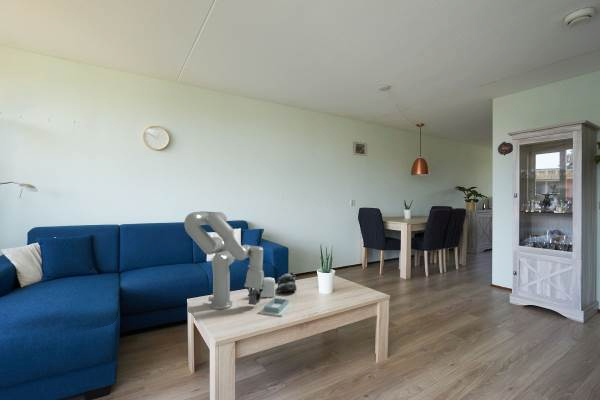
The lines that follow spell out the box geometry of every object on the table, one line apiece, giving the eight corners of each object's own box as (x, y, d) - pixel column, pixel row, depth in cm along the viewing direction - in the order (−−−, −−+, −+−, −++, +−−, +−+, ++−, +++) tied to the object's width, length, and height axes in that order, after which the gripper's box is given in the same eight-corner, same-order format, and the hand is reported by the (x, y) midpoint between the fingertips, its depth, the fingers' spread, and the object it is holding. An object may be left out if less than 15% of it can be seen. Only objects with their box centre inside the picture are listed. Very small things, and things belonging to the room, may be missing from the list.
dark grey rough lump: (272, 293, 192) (272, 272, 199) (282, 295, 202) (281, 275, 208) (291, 290, 186) (290, 268, 193) (300, 292, 196) (299, 272, 202)
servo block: (247, 305, 164) (247, 291, 164) (255, 299, 173) (255, 286, 173) (253, 306, 163) (254, 292, 163) (261, 300, 172) (261, 287, 172)
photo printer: (274, 295, 189) (275, 276, 189) (275, 297, 185) (275, 278, 185) (259, 295, 188) (259, 276, 188) (259, 298, 184) (259, 278, 184)
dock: (258, 313, 160) (258, 307, 160) (272, 302, 177) (272, 296, 177) (282, 316, 155) (282, 310, 155) (293, 305, 172) (293, 299, 172)
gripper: (240, 267, 167) (238, 298, 167) (266, 271, 161) (264, 303, 162) (246, 264, 174) (245, 294, 174) (271, 268, 169) (270, 299, 169)
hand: (254, 298), depth 168 cm, fingers closed on servo block, 4 cm apart
